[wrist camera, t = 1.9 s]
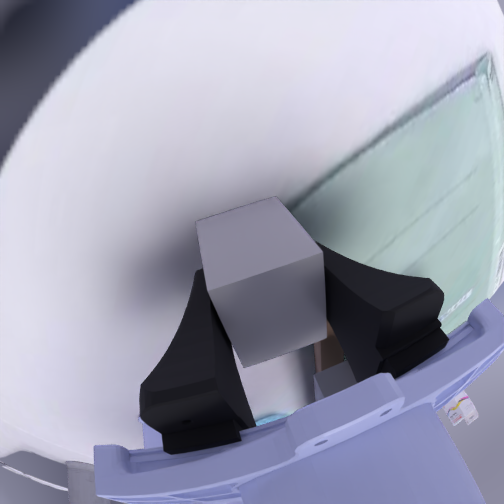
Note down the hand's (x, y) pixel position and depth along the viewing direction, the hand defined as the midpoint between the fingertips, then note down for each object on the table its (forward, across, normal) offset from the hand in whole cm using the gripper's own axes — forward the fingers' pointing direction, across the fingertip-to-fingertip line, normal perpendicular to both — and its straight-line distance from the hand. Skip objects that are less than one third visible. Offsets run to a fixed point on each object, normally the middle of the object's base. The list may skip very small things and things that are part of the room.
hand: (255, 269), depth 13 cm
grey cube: (+2, 0, 0) cm, 2 cm away
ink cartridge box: (+2, -46, +71) cm, 85 cm away
